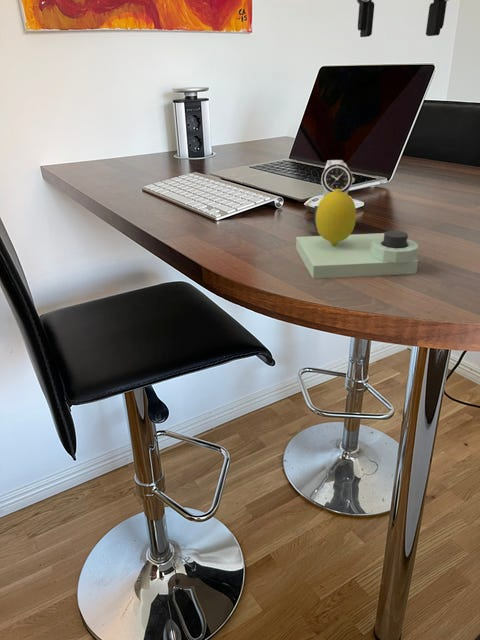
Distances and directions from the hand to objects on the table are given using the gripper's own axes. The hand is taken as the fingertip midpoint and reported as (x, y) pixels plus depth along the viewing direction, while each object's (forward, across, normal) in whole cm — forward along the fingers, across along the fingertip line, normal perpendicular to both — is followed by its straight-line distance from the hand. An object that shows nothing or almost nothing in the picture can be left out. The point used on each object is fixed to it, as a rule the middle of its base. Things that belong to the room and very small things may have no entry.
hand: (399, 36), depth 70 cm
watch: (+28, +7, -3) cm, 30 cm away
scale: (+28, +8, +13) cm, 32 cm away
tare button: (+25, +4, +17) cm, 30 cm away
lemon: (+27, +10, +11) cm, 31 cm away
